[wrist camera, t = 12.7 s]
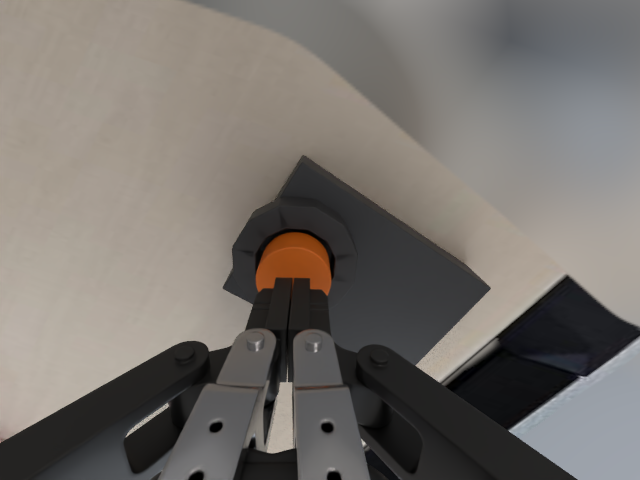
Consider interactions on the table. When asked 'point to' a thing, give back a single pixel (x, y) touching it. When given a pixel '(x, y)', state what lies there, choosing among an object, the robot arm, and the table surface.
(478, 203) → the table surface
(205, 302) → the table surface
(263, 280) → the button
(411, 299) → the grey push button box
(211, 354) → the robot arm
